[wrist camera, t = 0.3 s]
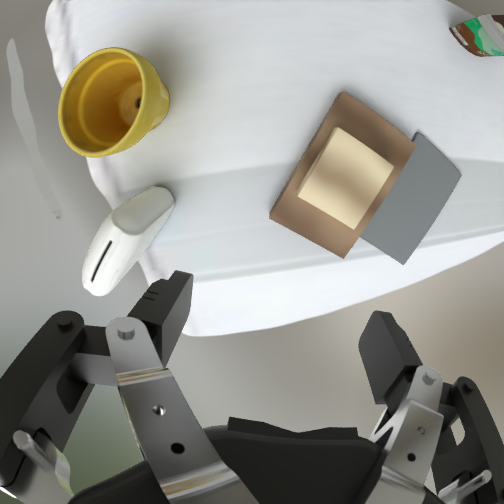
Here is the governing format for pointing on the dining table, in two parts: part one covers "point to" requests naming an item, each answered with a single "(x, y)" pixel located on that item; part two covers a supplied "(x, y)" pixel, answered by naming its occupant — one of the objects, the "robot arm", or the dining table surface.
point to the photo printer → (125, 238)
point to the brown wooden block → (340, 115)
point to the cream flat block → (344, 178)
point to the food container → (482, 35)
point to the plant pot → (111, 102)
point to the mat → (412, 202)
